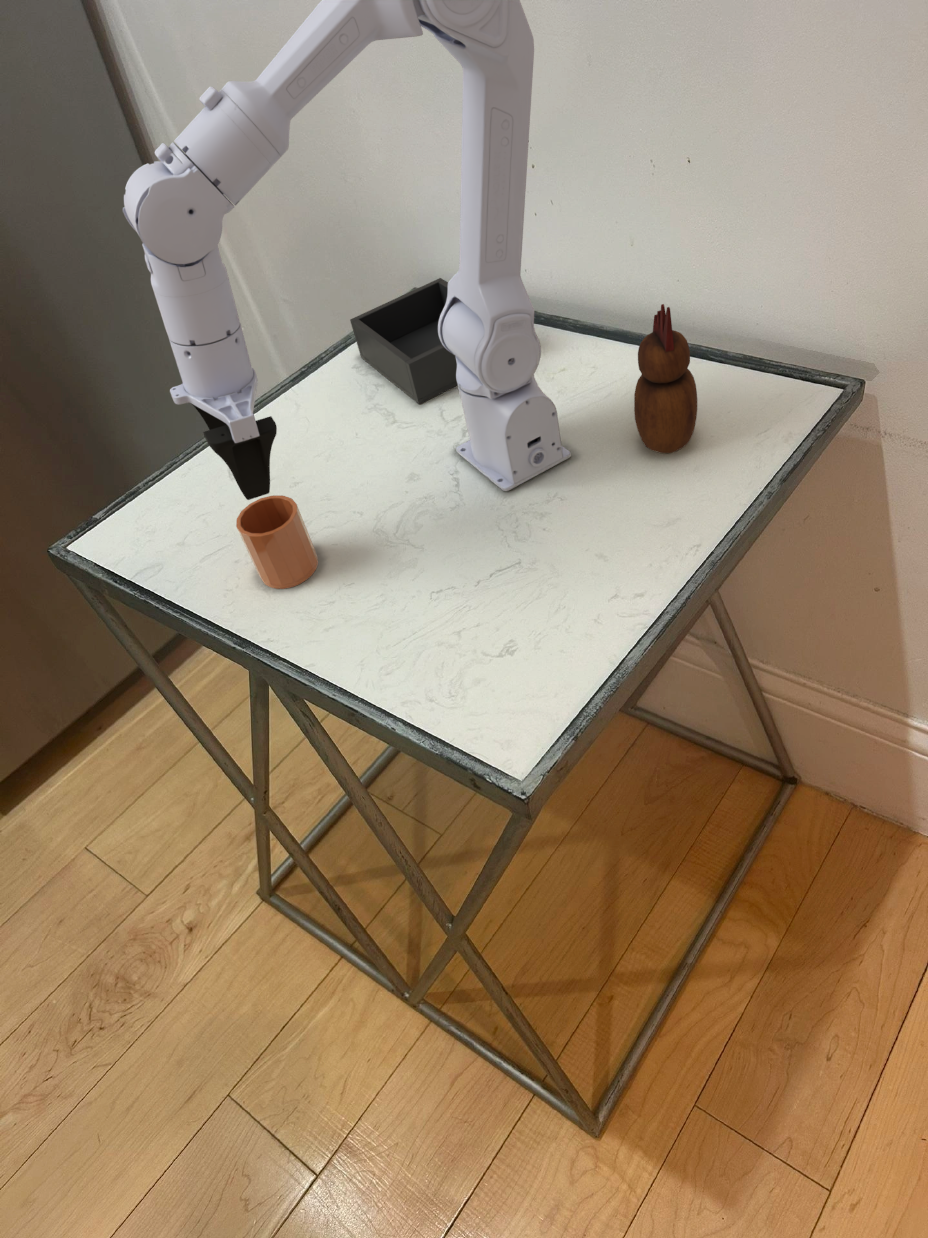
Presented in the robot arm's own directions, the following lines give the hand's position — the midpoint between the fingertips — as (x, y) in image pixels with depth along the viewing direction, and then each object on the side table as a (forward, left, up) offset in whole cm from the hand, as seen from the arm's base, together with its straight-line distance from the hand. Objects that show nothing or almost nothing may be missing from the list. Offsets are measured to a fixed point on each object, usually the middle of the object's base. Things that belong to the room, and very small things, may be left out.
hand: (245, 473), depth 84 cm
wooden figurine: (-13, -37, -10) cm, 40 cm away
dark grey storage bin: (+19, -29, -10) cm, 36 cm away
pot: (-3, 0, -10) cm, 10 cm away
